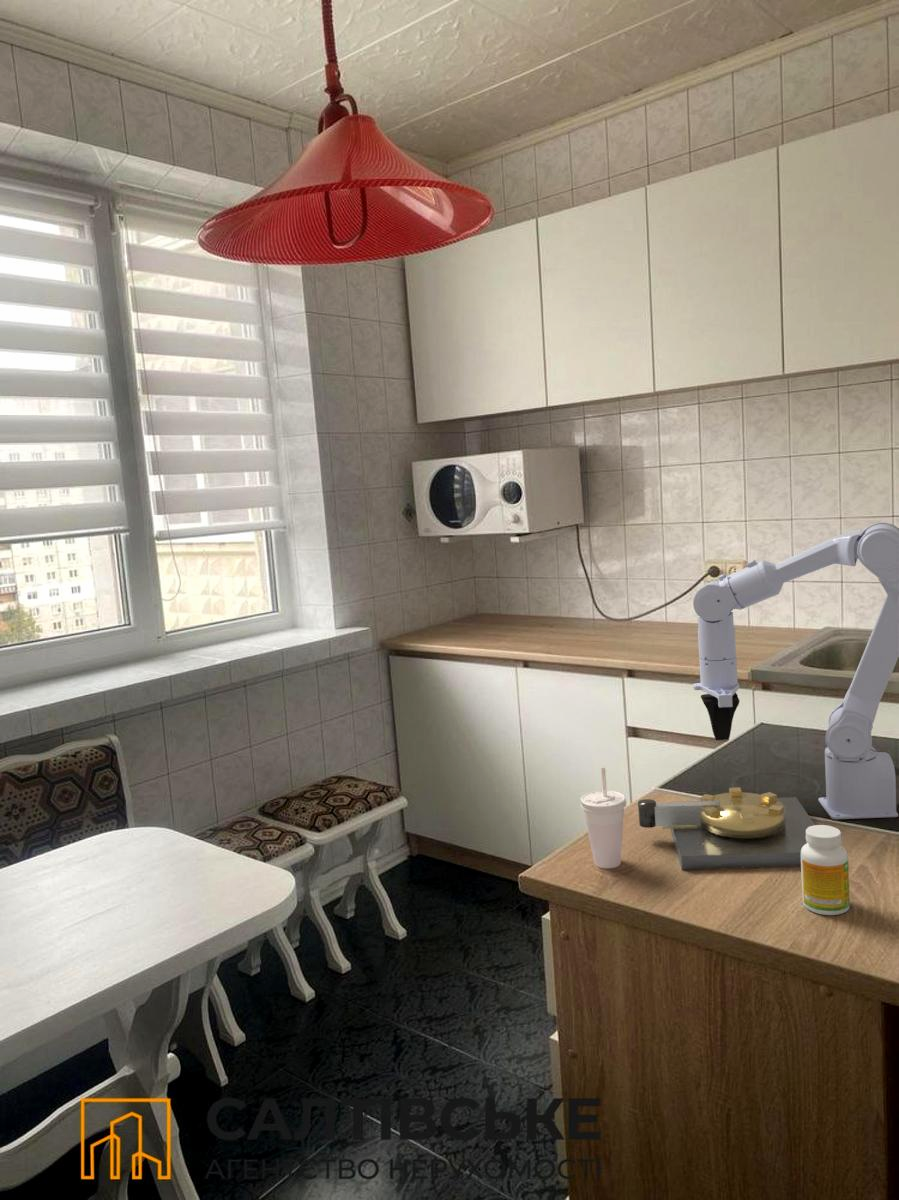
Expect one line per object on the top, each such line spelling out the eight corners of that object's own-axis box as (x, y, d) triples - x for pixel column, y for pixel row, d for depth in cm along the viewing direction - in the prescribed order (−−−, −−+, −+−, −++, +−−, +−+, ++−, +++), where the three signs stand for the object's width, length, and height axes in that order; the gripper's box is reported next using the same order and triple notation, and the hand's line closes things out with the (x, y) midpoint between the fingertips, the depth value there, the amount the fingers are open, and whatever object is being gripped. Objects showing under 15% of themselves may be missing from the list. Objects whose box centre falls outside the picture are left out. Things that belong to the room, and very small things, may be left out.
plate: (796, 809, 140) (795, 796, 140) (833, 865, 121) (833, 850, 121) (656, 814, 143) (655, 802, 143) (670, 870, 124) (669, 855, 124)
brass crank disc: (776, 804, 137) (775, 783, 136) (794, 837, 125) (793, 813, 124) (637, 809, 140) (635, 788, 139) (641, 841, 128) (640, 818, 128)
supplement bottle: (854, 917, 107) (852, 840, 106) (807, 916, 109) (803, 840, 107) (844, 895, 113) (841, 822, 111) (799, 895, 114) (796, 822, 112)
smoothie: (639, 859, 128) (632, 765, 126) (614, 876, 123) (607, 779, 122) (601, 849, 132) (594, 758, 130) (576, 866, 128) (568, 771, 126)
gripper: (687, 648, 151) (691, 726, 153) (696, 668, 137) (701, 754, 139) (730, 646, 150) (734, 725, 152) (744, 665, 136) (748, 752, 138)
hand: (721, 738), depth 145 cm, fingers closed
